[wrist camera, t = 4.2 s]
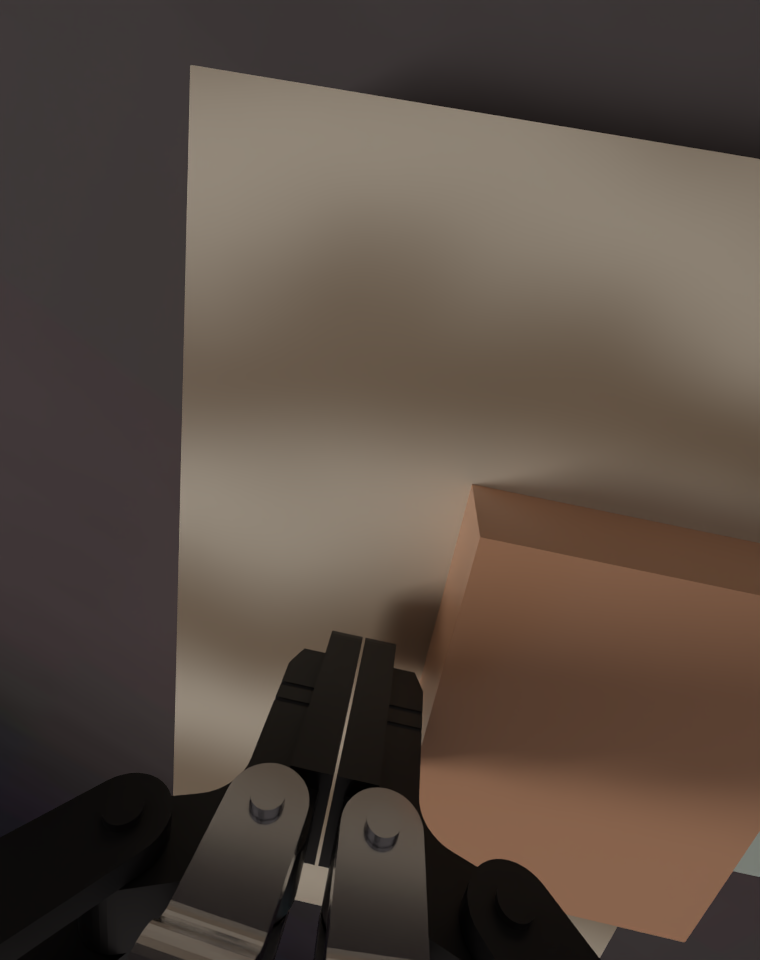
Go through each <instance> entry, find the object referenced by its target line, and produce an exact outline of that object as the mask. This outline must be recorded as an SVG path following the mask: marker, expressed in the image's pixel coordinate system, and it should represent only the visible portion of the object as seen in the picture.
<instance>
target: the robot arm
mask: <svg viewBox="0 0 760 960" xmlns="http://www.w3.org/2000/svg"><path fill="white" fill-rule="evenodd" d="M362 639H363V637H361V636H356V635H351V634H347V633H342V632H338V631H332V633H331V636H330V639H329V643H328V646H327V649H326V652H325V653H324V652H319V651H315V650H310V649H306V648H304V649H303V650H302V651H301V652H300V653H299V654H298V655H297V656H295V657H294V658H293V659H292V660H291V661H290V662H289V664H288V666H287V669H286V671H285V674H284V676H283V679H282V682H281V684H280V687H279V689H278V692H277V694H276V697H275V700H274V702H273V704H272V707H271V709H270V712H269V714H268V717H267V719H266V722H265V724H264V727H263V729H262V732H261V734H260V737H259V739H258V742H257V744H256V747H255V749H254V752H253V755H252V757H251V759H250V761H249V763H248V765H247V767H246V768H245V769H244V771H242V772H241V773H240V774H239V775H238V776H236V778H235V779H234V780H233V781H232V782H230V783H229V784H227V785H225V786H223V787H221V788H219V789H216V790H213V791H210V792H204V793H197V794H186V795H176V796H171V794H170V792H169V790H168V788H167V786H166V785H165V784H164V783H163V782H162V781H161V780H160V779H158V778H156V777H154V776H152V775H148V774H143V773H129V774H124V775H120V776H117V777H114V778H112V779H110V780H107V781H105V782H104V783H102V784H100V785H98V786H96V787H94V788H92V789H90V790H89V791H87V792H85V793H83V794H81V795H79V796H77V797H75V798H74V799H72V800H70V801H68V802H66V803H64V804H62V805H60V806H59V807H57V808H55V809H53V810H51V811H49V812H47V813H45V814H44V815H42V816H40V817H38V818H36V819H34V820H32V821H30V822H29V823H27V824H25V825H23V826H21V827H19V828H17V829H15V830H14V831H12V832H10V833H8V834H6V835H4V836H2V837H0V960H275V957H276V953H277V950H278V947H279V944H280V940H281V937H282V934H283V931H284V928H285V924H286V921H287V918H288V914H289V910H290V908H291V906H292V904H293V902H294V900H295V897H296V894H297V889H298V885H299V881H300V877H301V872H302V868H303V864H304V863H307V864H312V865H315V861H316V856H317V852H318V847H319V842H320V838H321V833H322V828H323V824H324V819H325V814H326V810H327V805H328V800H329V796H330V791H331V786H332V782H333V777H334V772H335V768H336V763H337V758H338V754H339V749H340V744H341V740H342V735H343V730H344V726H345V721H346V716H347V712H348V707H349V702H350V698H351V693H352V688H353V683H354V678H355V673H356V669H357V664H358V659H359V654H360V649H361V644H362ZM395 652H396V644H393V643H389V642H384V641H379V640H375V639H370V638H365V643H364V648H363V653H362V658H361V662H360V667H359V672H358V677H357V682H356V686H355V691H354V696H353V701H352V706H351V710H350V715H349V720H348V725H347V730H346V734H345V739H344V744H343V749H342V754H341V758H340V763H339V768H338V773H337V778H336V782H335V787H334V792H333V797H332V802H331V806H330V811H329V816H328V821H327V826H326V830H325V835H324V840H323V845H322V850H321V854H320V859H319V864H318V866H321V867H326V868H329V870H328V875H327V881H326V886H325V891H324V897H323V902H322V906H321V911H320V915H319V920H318V927H317V935H316V943H315V952H314V960H600V958H599V957H598V956H597V954H596V953H595V952H594V950H593V949H592V948H591V947H590V945H589V944H588V943H587V941H586V940H585V939H584V937H583V936H582V935H581V933H580V932H579V931H578V929H577V928H576V927H575V926H574V924H573V923H572V922H571V920H570V919H569V918H568V916H567V915H566V914H565V912H564V911H563V910H562V908H561V907H560V906H559V904H558V903H557V902H556V901H555V899H554V898H553V897H552V895H551V894H550V893H549V891H548V890H547V889H546V887H545V886H544V885H543V884H542V882H541V881H540V880H539V879H538V878H537V877H536V876H535V875H534V874H533V873H532V872H530V871H529V870H528V869H526V868H525V867H523V866H521V865H520V864H518V863H516V862H513V861H510V860H505V859H492V860H488V861H486V862H484V863H482V864H481V865H479V866H478V867H477V866H475V865H474V864H472V863H470V862H469V861H467V860H465V859H464V858H462V857H460V856H459V855H457V854H455V853H454V852H452V851H451V850H449V849H448V848H446V847H445V846H444V845H443V844H442V843H440V842H439V841H438V840H437V839H436V837H435V836H434V835H433V834H432V833H431V831H430V830H429V828H428V827H427V825H426V823H425V821H424V819H423V816H422V813H421V809H420V804H419V789H420V764H421V738H422V733H421V730H422V712H423V690H422V688H421V685H420V683H419V681H418V679H417V676H416V674H415V672H410V671H406V670H401V669H397V668H394V660H395Z"/></svg>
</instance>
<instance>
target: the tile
mask: <svg viewBox="0 0 760 960" xmlns="http://www.w3.org/2000/svg"><path fill="white" fill-rule="evenodd" d="M420 685H421V688H422V690H423V712H422V730H421V733H422V738H421V764H420V789H419V804H420V809H421V813H422V816H423V819H424V821H425V823H426V825H427V827H428V828H429V830H430V831H431V833H432V834H433V835H434V836H435V837H436V839H437V840H438V841H439V842H440V843H442V844H443V845H444V846H445V847H446V848H448V849H449V850H451V851H452V852H454V853H455V854H457V855H459V856H460V857H462V858H464V859H465V860H467V861H469V862H470V863H472V864H474V865H475V866H477V867H478V866H479V865H481V864H482V863H484V862H486V861H488V860H492V859H505V860H510V861H513V862H516V863H518V864H520V865H521V866H523V867H525V868H526V869H528V870H529V871H530V872H532V873H533V874H534V875H535V876H536V877H537V878H538V879H539V880H540V881H541V882H542V884H543V885H544V886H545V887H546V889H547V890H548V891H549V893H550V894H551V895H552V897H553V898H554V899H555V901H556V902H557V903H558V904H559V906H560V907H561V908H562V910H563V911H564V912H565V914H567V915H571V916H575V917H579V918H583V919H588V920H592V921H596V922H600V923H605V924H609V925H613V926H617V927H622V928H626V929H630V930H634V931H639V932H643V933H647V934H651V935H656V936H660V937H664V938H668V939H672V940H677V941H681V942H685V941H686V940H687V938H688V937H689V935H690V934H691V933H692V931H693V930H694V928H695V927H696V925H697V924H698V922H699V921H700V919H701V918H702V916H703V915H704V913H705V912H706V910H707V909H708V907H709V906H710V904H711V903H712V901H713V900H714V898H715V897H716V895H717V894H718V892H719V891H720V889H721V888H722V886H723V885H724V883H725V882H726V881H727V879H728V878H729V876H730V875H731V873H732V872H733V870H734V869H735V867H736V866H737V864H738V863H739V861H740V860H741V858H742V857H743V855H744V854H745V852H746V851H747V849H748V848H749V846H750V845H751V843H752V842H753V840H754V839H755V837H756V836H757V834H758V833H759V831H760V543H757V542H752V541H747V540H742V539H737V538H733V537H728V536H723V535H718V534H713V533H708V532H703V531H698V530H694V529H689V528H684V527H679V526H674V525H669V524H664V523H659V522H655V521H650V520H645V519H640V518H635V517H630V516H625V515H620V514H616V513H611V512H606V511H601V510H596V509H591V508H586V507H581V506H577V505H572V504H567V503H562V502H557V501H552V500H547V499H542V498H538V497H533V496H528V495H523V494H518V493H513V492H508V491H503V490H498V489H494V488H489V487H484V486H479V485H474V484H472V485H471V489H470V493H469V497H468V501H467V504H466V508H465V512H464V516H463V520H462V523H461V527H460V531H459V535H458V539H457V542H456V546H455V550H454V554H453V558H452V561H451V565H450V569H449V573H448V577H447V580H446V584H445V588H444V592H443V596H442V599H441V603H440V607H439V611H438V615H437V618H436V622H435V626H434V630H433V634H432V637H431V641H430V645H429V649H428V653H427V656H426V660H425V664H424V668H423V672H422V675H421V679H420Z"/></svg>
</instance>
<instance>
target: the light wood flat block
mask: <svg viewBox="0 0 760 960" xmlns="http://www.w3.org/2000/svg"><path fill="white" fill-rule="evenodd" d="M472 484H474V485H479V486H484V487H489V488H494V489H498V490H503V491H508V492H513V493H518V494H523V495H528V496H533V497H538V498H542V499H547V500H552V501H557V502H562V503H567V504H572V505H577V506H581V507H586V508H591V509H596V510H601V511H606V512H611V513H616V514H620V515H625V516H630V517H635V518H640V519H645V520H650V521H655V522H659V523H664V524H669V525H674V526H679V527H684V528H689V529H694V530H698V531H703V532H708V533H713V534H718V535H723V536H728V537H733V538H737V539H742V540H747V541H752V542H757V543H760V159H756V158H750V157H744V156H738V155H732V154H726V153H720V152H714V151H708V150H702V149H696V148H690V147H684V146H678V145H672V144H666V143H660V142H653V141H647V140H641V139H635V138H629V137H623V136H617V135H611V134H605V133H599V132H593V131H587V130H581V129H575V128H569V127H563V126H557V125H551V124H545V123H539V122H532V121H526V120H520V119H514V118H508V117H502V116H496V115H490V114H484V113H478V112H472V111H466V110H460V109H454V108H448V107H442V106H436V105H430V104H424V103H418V102H412V101H405V100H399V99H393V98H387V97H381V96H375V95H369V94H363V93H357V92H351V91H345V90H339V89H333V88H327V87H321V86H315V85H309V84H303V83H297V82H291V81H285V80H278V79H272V78H266V77H260V76H254V75H248V74H242V73H236V72H230V71H224V70H218V69H212V68H206V67H200V66H194V65H190V103H189V146H188V188H187V231H186V274H185V317H184V359H183V402H182V445H181V487H180V530H179V573H178V615H177V658H176V701H175V743H174V786H173V796H176V795H186V794H197V793H204V792H210V791H213V790H216V789H219V788H221V787H223V786H225V785H227V784H229V783H230V782H232V781H233V780H234V779H235V778H236V776H238V775H239V774H240V773H241V772H242V771H244V769H245V768H246V767H247V765H248V763H249V761H250V759H251V757H252V755H253V752H254V749H255V747H256V744H257V742H258V739H259V737H260V734H261V732H262V729H263V727H264V724H265V722H266V719H267V717H268V714H269V712H270V709H271V707H272V704H273V702H274V700H275V697H276V694H277V692H278V689H279V687H280V684H281V682H282V679H283V676H284V674H285V671H286V669H287V666H288V664H289V662H290V661H291V660H292V659H293V658H294V657H295V656H297V655H298V654H299V653H300V652H301V651H302V650H303V649H304V648H306V649H310V650H315V651H319V652H324V653H325V652H326V649H327V646H328V643H329V639H330V636H331V633H332V631H338V632H342V633H347V634H351V635H356V636H361V637H363V639H362V644H361V649H360V654H359V659H358V664H357V669H356V673H355V678H354V683H353V688H352V693H351V698H350V702H349V707H348V712H347V716H346V721H345V726H344V730H343V735H342V740H341V744H340V749H339V754H338V758H337V763H336V768H335V772H334V777H333V782H332V786H331V791H330V796H329V800H328V805H327V810H326V814H325V819H324V824H323V828H322V833H321V838H320V842H319V847H318V852H317V856H316V861H315V865H312V864H307V863H304V864H303V868H302V872H301V877H300V881H299V885H298V889H297V894H296V897H295V900H299V901H303V902H307V903H312V904H316V905H320V906H322V902H323V897H324V891H325V886H326V881H327V875H328V870H329V868H326V867H321V866H318V864H319V859H320V854H321V850H322V845H323V840H324V835H325V830H326V826H327V821H328V816H329V811H330V806H331V802H332V797H333V792H334V787H335V782H336V778H337V773H338V768H339V763H340V758H341V754H342V749H343V744H344V739H345V734H346V730H347V725H348V720H349V715H350V710H351V706H352V701H353V696H354V691H355V686H356V682H357V677H358V672H359V667H360V662H361V658H362V653H363V648H364V643H365V638H370V639H375V640H379V641H384V642H389V643H393V644H396V652H395V660H394V668H397V669H401V670H406V671H410V672H415V674H416V676H417V679H418V681H419V683H420V679H421V675H422V672H423V668H424V664H425V660H426V656H427V653H428V649H429V645H430V641H431V637H432V634H433V630H434V626H435V622H436V618H437V615H438V611H439V607H440V603H441V599H442V596H443V592H444V588H445V584H446V580H447V577H448V573H449V569H450V565H451V561H452V558H453V554H454V550H455V546H456V542H457V539H458V535H459V531H460V527H461V523H462V520H463V516H464V512H465V508H466V504H467V501H468V497H469V493H470V489H471V485H472ZM566 915H567V914H566ZM567 916H568V918H569V919H570V920H571V922H572V923H573V924H574V926H575V927H576V928H577V929H578V931H579V932H580V933H581V935H582V936H583V937H584V939H585V940H586V941H587V943H588V944H589V945H590V947H591V948H592V949H593V950H594V952H595V953H596V954H597V956H598V957H599V958H600V956H601V955H602V953H603V951H604V949H605V948H606V946H607V944H608V942H609V940H610V939H611V937H612V935H613V933H614V932H615V930H616V928H617V926H613V925H609V924H605V923H600V922H596V921H592V920H588V919H583V918H579V917H575V916H571V915H567Z"/></svg>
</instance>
